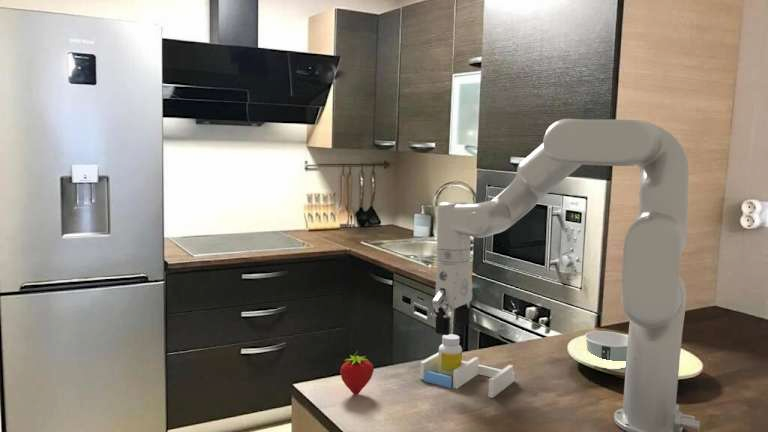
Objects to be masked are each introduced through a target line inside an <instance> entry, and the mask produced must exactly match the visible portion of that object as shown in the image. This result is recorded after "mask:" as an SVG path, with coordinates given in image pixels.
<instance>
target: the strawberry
mask: <svg viewBox="0 0 768 432" xmlns="http://www.w3.org/2000/svg"><path fill="white" fill-rule="evenodd" d="M357 353H358V350H357V351H356V352H355V353H354V354H353V355H351V354H349V357H350V358H346V359H344V361H345V362H344V363H343V364H342V365H341V367H340V371H339V374H340V377H341V380H342V382H343V383H344V385H345V386H346V387H347V388H348V390H349V391H350V392H351V393H352V394H353V395H358V394H360V392H362V390H363V389H364V388H365V386H367V384H368V383H369V382H370V380H371V379H372V376H373V374H374V371H375V369H374V365H373V363H371V362H370V361H369V359H368V358H367V355H365V356H359V355H356V354H357Z"/></svg>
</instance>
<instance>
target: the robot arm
mask: <svg viewBox="0 0 768 432" xmlns="http://www.w3.org/2000/svg"><path fill="white" fill-rule="evenodd" d="M542 141H543V142H542V143H541V144H540V145H539V146H538V147H536V148H535V149H534V150H533V151H531V153H530V154H529V155H527V156H526V157H525V158H524V159H523V160H521V162H520V163H518V165H517V169H516V175H515V177H514V179H513V180H512V181H511V183H510V184H509V185H507V187H506V188H504V189H503V190H502V191H501V192H500V193H499V194H497V195H496V196H495V197H494V198H493V199H491V200H488V201H483V202H478V203H471V204H469V203H468V202H465V201H460V200H447V201H446V200H445V201H442V202H440V203H439V204H438V205H437V216H436V217H437V221H436V228H437V229H436V230H437V231H436V232H437V233H436V240H437V241H436V244H437V245H436V262H437V268H436V276H435V277H436V278H435V296H434V298H433V299H432V303H431V304H432V306H433V312H434V317H435V333H436V334H438V335H442V336H443V335H449V334H450V316H449V314H450V312H451V311H450V310H451V308H452V309H455V323H456V324H457V325H462V326H463V325H465V326H468V325H470V307H471V301H472V299H473V277H472V276H473V275H472V266H471V237H473V238H477V239H478V238H481V239H482V238H483V239H484V238H487V237H491V236H493V235H496V234H500V233H502V232H505V231H506V230H508V229H509V228H510V227H512V226H514V225H515V224H516V223H517V222H518V221H519V220H521V219H522V218H523V217H524V216H526V215H527V214H528V213H529V212H530V211H531V210H532V209H534V208H535V206H536V205H538V204H539V202H541V201H542V200H543V199H544V198H545V196H547V194H548V193H550V192H551V190H553V189H554V188H556V186H558V185H559V184H560V183H561V182H563V180H565V179H566V178H567V177H569V176H570V175H571V174H572V173H574V172H575V171H576V170H578V169H579V168H580V167H581V166H584V165H586V166H587V165H588V166H608V167H609V166H611V167H634V166H637V167H638V169H639V171H640V183H639V192H638V196H639V197H638V200H639V202H638V213H637V219H636V221H634V222H633V223H632V224H631V225H630V227H629V228H628V229H627V232H626V234H625V237H624V242H623V250H622V251H623V252H622V271H621V272H622V273H621V289H620V290H621V291H620V292H621V293H620V294H621V295H620V298H621V301H620V302H621V306H622V309H623V312H624V313H625V315H626V317H627V318H628V319H629V325H628V333H627V334H628V335H627V336H628V345H627V358H626V368H625V375H624V385H623V386H624V387H623V401H622V407H621V408H619V409H616V410H615V411H614V413H613V422H614V423H615V425H616V426H618V428H621V429H622V430H623V431H625V432H684V431H683V430H684V428H685V429H688V430H691V431H695V432H699V431H700V426H701V421H700V420H696V416H695V415H690V414H685V413H683V412H682V411H680V405H679V404H677V395H678V394H677V393H678V384H679V370H680V359H681V358H680V357H681V353H682V352H681V349H682V339H683V329H684V321H685V313H686V308H687V307H686V306H687V297H688V296H687V295H688V294H687V289H686V288H687V287H686V284H685V282H684V280H683V278H682V277H681V276H680V266H681V265H680V264H681V255H682V253H683V252H684V250H685V249H686V246H687V243H688V210H689V208H688V207H689V163H688V158H687V155H686V152H685V150H684V148H683V146H682V145H681V143H680V142H679V140H678V139H677V138H676V137H675V136H674V135H673V134H672V133H671V132H669V131H668V130H666V129H664V128H663V127H661V126H659V125H657V124H654V123H651V122H649V121H646V120H645V121H644V120H638V119H626V118H625V119H580V118H578V119H577V118H562V119H559V120H556V121H555V122H553V123H552V124H551V125H550V126H549V127H548V128H547V130H546V131H545V134H544V135H543V140H542ZM443 308H444V309H445V310H444V309H443ZM448 316H449V317H448Z"/></svg>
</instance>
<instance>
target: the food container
mask: <svg viewBox="0 0 768 432" xmlns="http://www.w3.org/2000/svg"><path fill="white" fill-rule="evenodd" d="M583 337H584V339H585V340H586V349H587V350H588V351H589V352H590V353H591V354H593V355H595V356H597V357H599V358H602V359H606V360H612V361H626V358H627V345H628V335H626V334H624V333H623V334H622V333H619V332H614V331H604V330H597V331H589V332H587V333H585V334H584V336H583ZM588 351H587V352H588Z"/></svg>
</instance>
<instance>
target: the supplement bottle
mask: <svg viewBox="0 0 768 432" xmlns="http://www.w3.org/2000/svg"><path fill="white" fill-rule="evenodd" d="M441 339H442V341H441V342H442V343H441V344H440V345H439V347H438V352H439V359H438V371H437V373H438V374H442V375H446V376H450V377H452V382H453V372H454V370H455V369H457V368H458V367H460V366H461V365H462V361H463V359H462V357H463V348H462V346H461V345H460V342H461V341H460V336H459V335H457V334H452V333H449V335H442V337H441Z"/></svg>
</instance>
